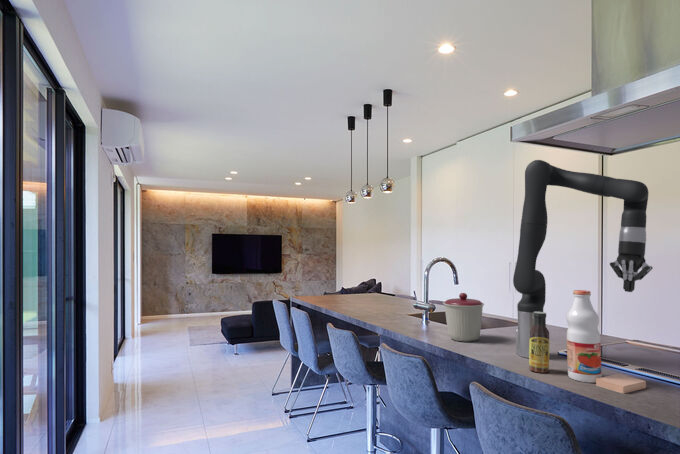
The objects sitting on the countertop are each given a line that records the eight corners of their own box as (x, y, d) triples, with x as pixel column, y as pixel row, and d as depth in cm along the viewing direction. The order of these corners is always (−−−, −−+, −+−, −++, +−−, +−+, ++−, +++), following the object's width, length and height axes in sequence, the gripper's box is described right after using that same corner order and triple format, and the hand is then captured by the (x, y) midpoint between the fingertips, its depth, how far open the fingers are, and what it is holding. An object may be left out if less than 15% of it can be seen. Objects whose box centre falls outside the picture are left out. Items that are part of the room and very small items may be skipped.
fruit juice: (583, 372, 141) (580, 288, 143) (609, 381, 132) (605, 291, 134) (561, 375, 139) (558, 289, 140) (585, 384, 130) (582, 292, 131)
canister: (490, 338, 194) (489, 292, 195) (475, 346, 180) (474, 296, 181) (453, 333, 205) (452, 290, 206) (436, 340, 191) (436, 293, 192)
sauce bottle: (529, 372, 142) (528, 313, 143) (528, 367, 148) (527, 310, 149) (551, 374, 140) (549, 314, 141) (549, 369, 146) (547, 311, 146)
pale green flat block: (618, 381, 134) (596, 386, 129) (618, 373, 134) (596, 378, 129) (646, 389, 126) (623, 395, 122) (645, 381, 126) (623, 386, 122)
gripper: (605, 239, 148) (602, 288, 147) (647, 241, 136) (644, 295, 136) (618, 240, 151) (614, 288, 151) (660, 242, 139) (656, 295, 139)
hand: (628, 291), depth 143 cm, fingers closed
